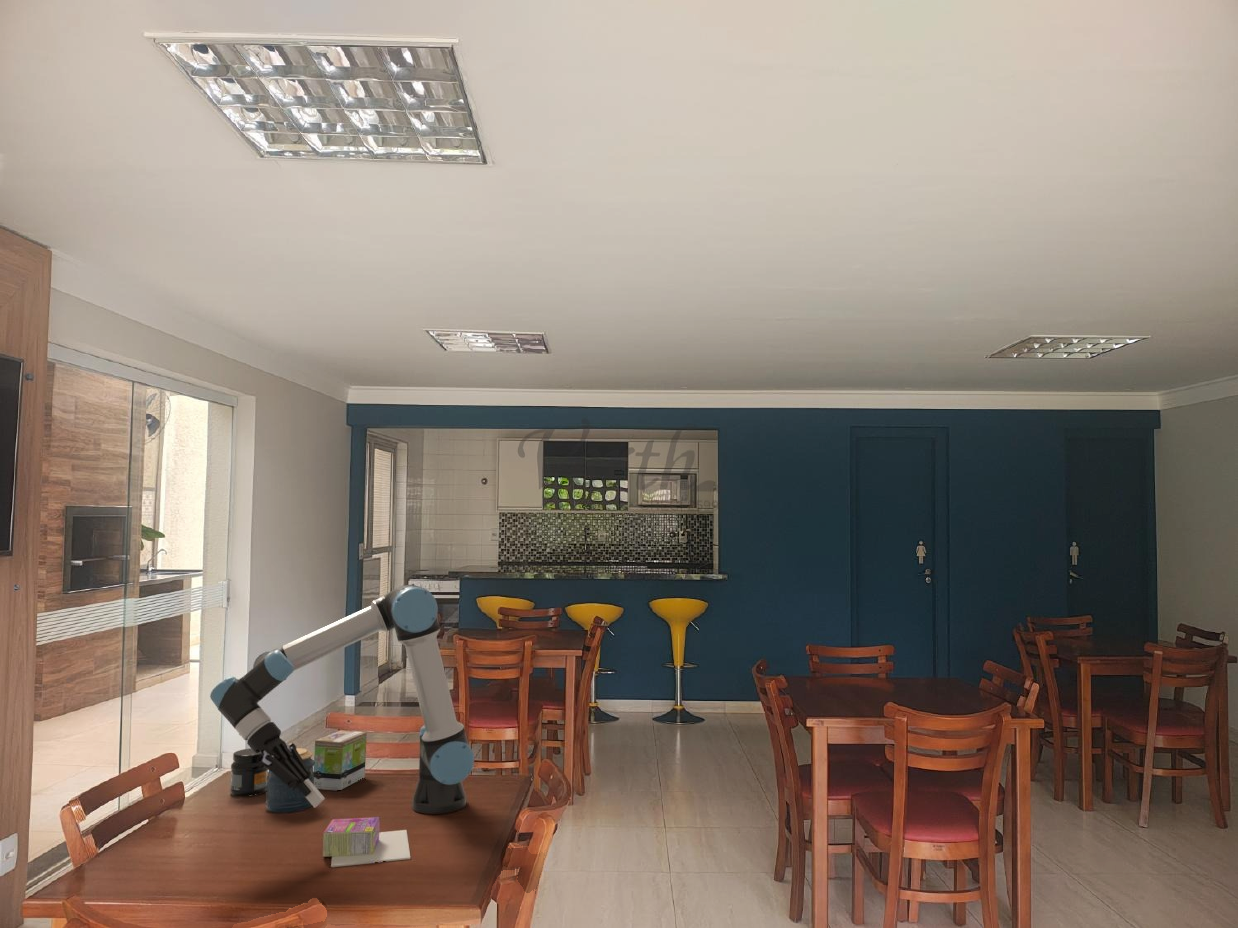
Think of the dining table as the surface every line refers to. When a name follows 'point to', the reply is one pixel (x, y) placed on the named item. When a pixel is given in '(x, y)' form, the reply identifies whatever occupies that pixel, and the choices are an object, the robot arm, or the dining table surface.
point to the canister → (288, 790)
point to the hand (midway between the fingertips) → (319, 802)
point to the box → (351, 837)
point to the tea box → (339, 760)
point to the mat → (380, 850)
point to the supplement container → (248, 773)
